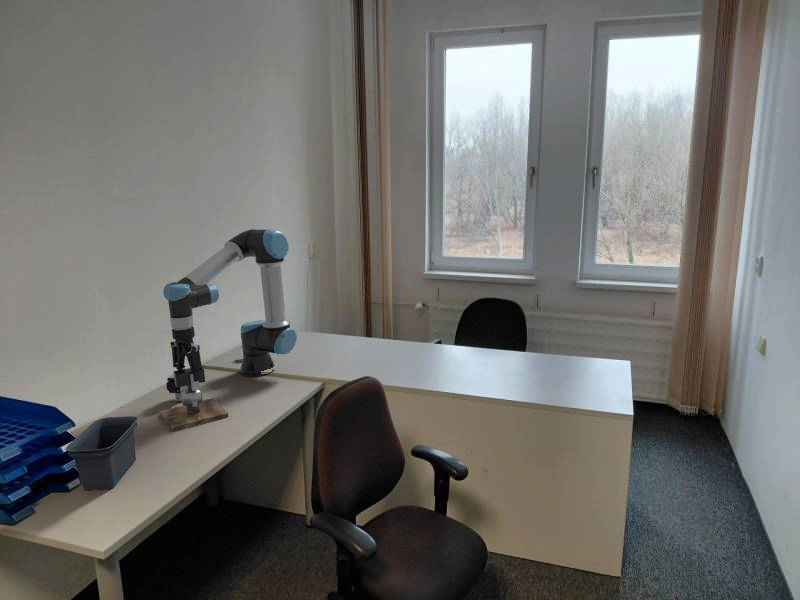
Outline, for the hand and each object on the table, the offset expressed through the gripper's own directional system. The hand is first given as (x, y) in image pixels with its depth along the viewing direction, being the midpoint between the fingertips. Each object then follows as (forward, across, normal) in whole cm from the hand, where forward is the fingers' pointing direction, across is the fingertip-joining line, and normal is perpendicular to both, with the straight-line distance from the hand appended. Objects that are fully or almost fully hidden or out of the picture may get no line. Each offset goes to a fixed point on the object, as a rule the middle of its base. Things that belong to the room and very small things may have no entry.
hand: (189, 387), depth 205 cm
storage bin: (+12, -13, +41) cm, 44 cm away
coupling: (+6, 0, 0) cm, 6 cm away
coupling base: (+11, 0, 0) cm, 11 cm away
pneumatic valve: (+11, +17, -8) cm, 22 cm away
